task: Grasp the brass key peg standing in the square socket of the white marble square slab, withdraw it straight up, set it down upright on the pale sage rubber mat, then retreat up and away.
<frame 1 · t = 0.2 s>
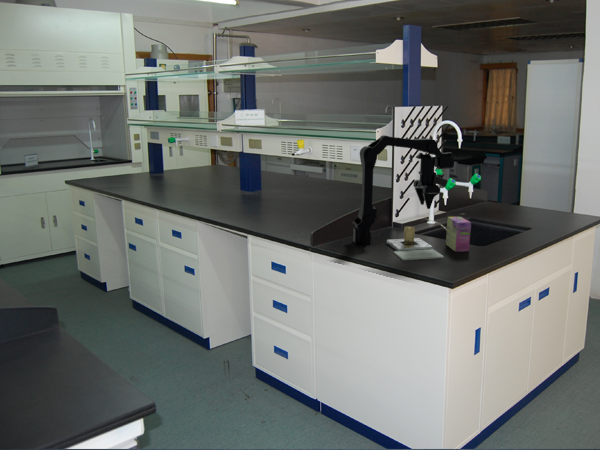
hand: (425, 206, 217), 14 cm above the counter, fingers open, 9 cm apart
box: (457, 248, 207), on the counter
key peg: (409, 237, 209), in the white marble square slab
white marble square slab: (408, 246, 210), on the counter
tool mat: (418, 255, 198), on the counter
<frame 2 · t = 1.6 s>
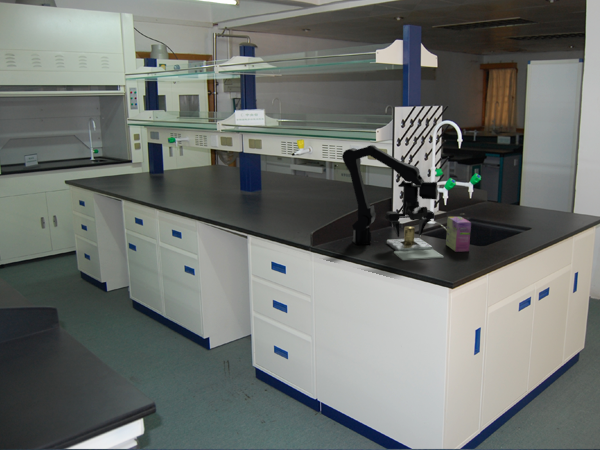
hand: (409, 236, 209), 4 cm above the counter, fingers open, 9 cm apart
nothing on the counter moved.
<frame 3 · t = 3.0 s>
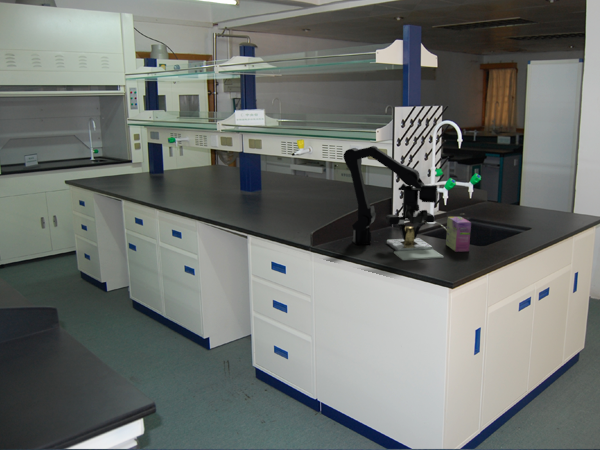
hand: (409, 239, 210), 3 cm above the counter, fingers closed on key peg, 4 cm apart
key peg: (409, 237, 209), in the white marble square slab, touching gripper
everything else where it was.
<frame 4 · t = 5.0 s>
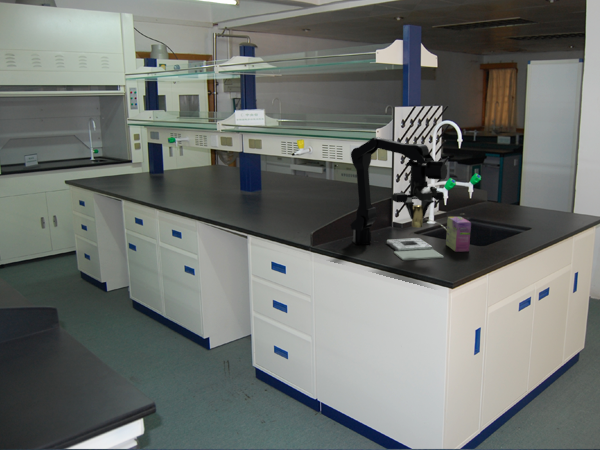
hand: (417, 218, 199), 13 cm above the counter, fingers closed on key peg, 4 cm apart
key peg: (417, 216, 199), point 14 cm above the counter, touching gripper
everything else where it was.
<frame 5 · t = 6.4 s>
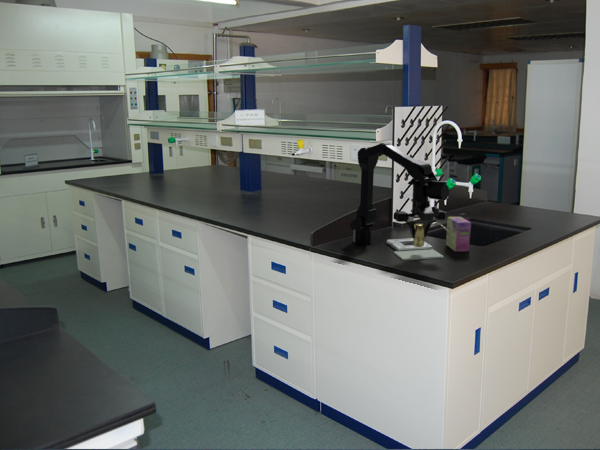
hand: (418, 237, 197), 7 cm above the counter, fingers closed on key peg, 4 cm apart
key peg: (418, 235, 196), point 8 cm above the counter, touching gripper
everything else where it was.
when the fingers open (5 cm above the counter, at t = 7.5 s): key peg drops 1 cm, resting on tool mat.
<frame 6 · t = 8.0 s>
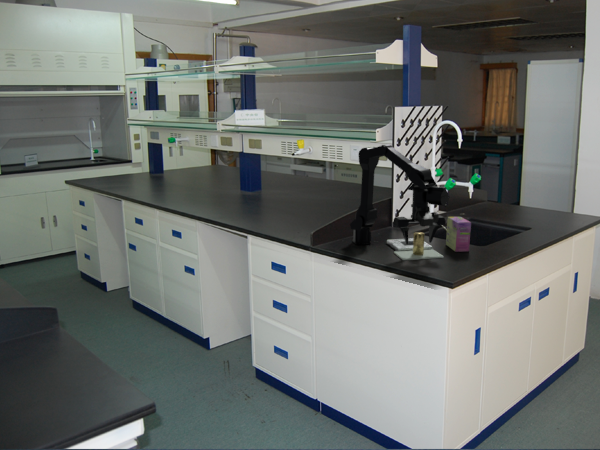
hand: (418, 243, 197), 5 cm above the counter, fingers open, 9 cm apart
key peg: (418, 243, 197), on the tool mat, point 5 cm above the counter
everything else where it was.
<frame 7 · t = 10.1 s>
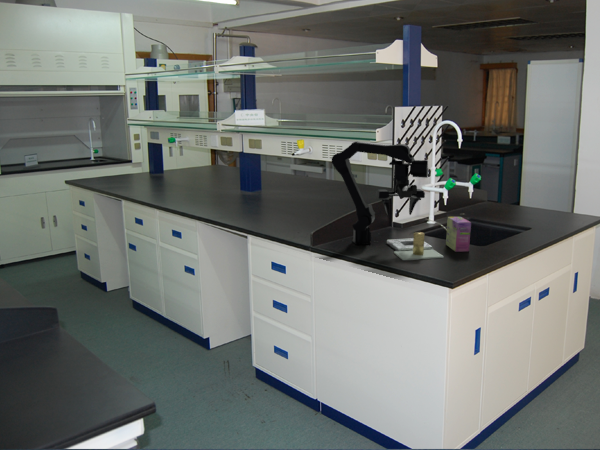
hand: (399, 214, 210), 13 cm above the counter, fingers open, 9 cm apart
nothing on the counter moved.
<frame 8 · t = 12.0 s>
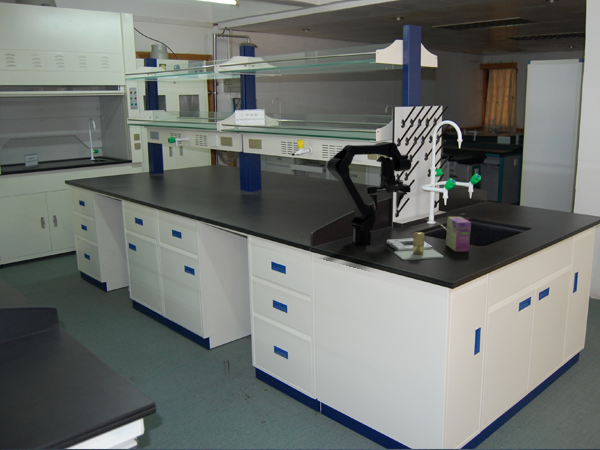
hand: (386, 209, 220), 13 cm above the counter, fingers open, 9 cm apart
nothing on the counter moved.
at the end: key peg inside the target area (0.0 cm from its centre), point 4.6 cm above the counter; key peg tilted 1°; the gripper is holding nothing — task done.
